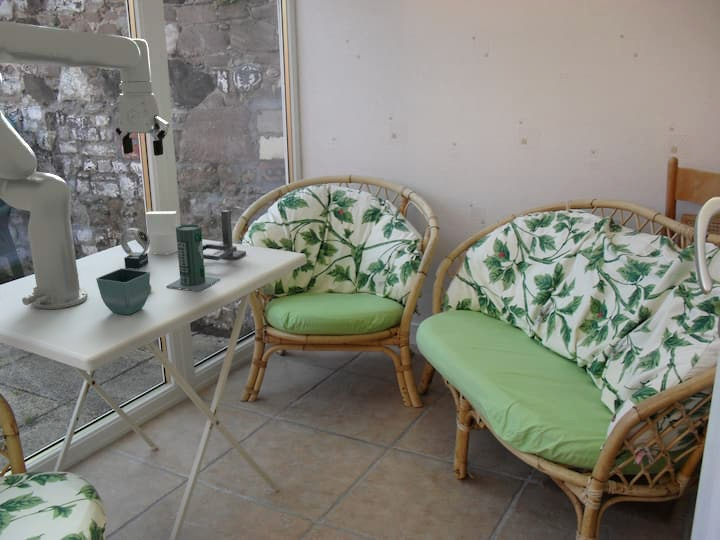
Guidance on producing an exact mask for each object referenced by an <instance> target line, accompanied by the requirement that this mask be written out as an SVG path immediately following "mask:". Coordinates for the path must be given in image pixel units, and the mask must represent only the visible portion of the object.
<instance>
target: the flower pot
mask: <svg viewBox="0 0 720 540" xmlns="http://www.w3.org/2000/svg"><path fill="white" fill-rule="evenodd" d="M95 280H96V283H97V287H98V289H99V290H98V291H99V294H100V298H101V299H102V302H103V303H104V305H105V306H106V307H107V308H108V310H109V311H111V312H112V313H115V314H120V315H127V316H129V315H131V314H133V313H135V312H137V311H140V310H142V309H143V308H144V306H145V304H146V303H147V300H148V298H149V294H150V293H149V286H150V285H151V282H150V280H151V272H150V271H143V270H139V269H129V268H119V269H116V270H113V271H111V272H109V273H105V274H104V275H101V276H98V277H97V278H96V279H95Z"/></svg>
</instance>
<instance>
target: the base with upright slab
mask: <svg viewBox="0 0 720 540" xmlns="http://www.w3.org/2000/svg"><path fill="white" fill-rule="evenodd" d="M145 218H146V219H145V220H146V227H147V235H148V237H149V240H150V242H149V248H148V251H149V253H150V252H151V253H150V254H152V253H156V254H155V255H167V254H166V253H171V254H174V253H173V252H175V253H177V252H178V248H177V237H176V227H179V225H178V216H177V211H176V210H175V211H147V212H146V213H145ZM176 251H177V252H176Z"/></svg>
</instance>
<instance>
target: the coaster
mask: <svg viewBox="0 0 720 540" xmlns="http://www.w3.org/2000/svg"><path fill="white" fill-rule="evenodd" d="M218 280H219V281H220V280H221V279H220V277H218V278H217V277H212V276H205V282H204V283H203V284H200V285H197V286H196V285H195V286H187V285H186V286H185V285H182V284H181V282H180V278H178V279H177V280H175V281H173V282H171V283H169V284H168V285H166V288H167V287H172V288H171V289H175V288H181V289H180V290H182V289H188V290H187V291H190V290H194V291H193V292H197V291H200V292H202V291H203V289H204V290H205V289H207V288H209V287H211V286H212V285H214V284H216V283H217V282H219V281H218ZM216 281H217V282H216ZM215 282H216V283H215ZM213 283H214V284H213ZM211 284H212V285H211ZM208 286H209V287H208ZM206 287H207V288H206ZM201 290H202V291H201Z"/></svg>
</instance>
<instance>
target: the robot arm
mask: <svg viewBox="0 0 720 540" xmlns="http://www.w3.org/2000/svg"><path fill="white" fill-rule="evenodd" d="M149 53H150V51H149V45H148V42H147V41H146V40H145V39H142V38H129V37H127V36H121V35H114V34H105V33H99V32H98V33H97V32H88V31H87V32H86V31H80V30H75V29H67V28H59V27H51V26H43V25H42V26H41V25H35V24H34V25H33V24H27V23H22V22H21V23H20V22H19V23H18V22H11V21H0V63H2V64H3V63H6V64H8V63H9V64H19V65H21V64H22V65H29V66H30V65H31V66H45V67H57V68H83V67H84V68H85V67H86V68H87V67H91V68H92V67H93V68H97V69H100V70H119V74H120V76H119V77H120V83H119V84H118V88H119V89H120V90H121V93H119V96H118V97H119V100H118V118H116V119H114V120H113V121H112V122H111V123H112V125H113V127H114V129H115V132H116V134H117V135H118V136H119V138H120V139H121V140H122V141H121V142H122V148H123V155H124V154H125V155H128V154H133V152H134V147H133V146H134V145H133V139H132V137H131V135H132V134H149V135H151V137H152V138H153V139H154V140H153V141H152V146H153V149H152V150H153V155H154V156H156V157H157V156H161V155H163V154H164V144H163V143H164V142H163V140H165V137H166V136H167V134H168V130H169V128H170V123H169V122H167V121H166V120H164V119H162V118H161V117H160V113H159V107H158V102H157V100H156V96H155V94H154V93H153V88H152V87H153V85H152V77H151V76H152V74H151V63H150V54H149ZM2 87H3V77H2V74H1V73H0V93H1V91H2ZM37 168H38V159H37V156H36V154H35V151H33V149H32V148H31V146H29V144H28V143H27V142H26V141H25V140H24V139H23V137H21V135H20V134H19V133H18V132H17V131H16V129H14V127H13V126H12V125H11V124H10V122H9V121H8V120H7V118H6V117H5V115H4V114H3V112H2V111H1V108H0V200H2V201H4V203H6V204H7V205H8V206H10V207H12V208H14V209H16V210H22V211H26V212H29V213H30V214H29V220H28V226H27V236H28V237H27V238H28V241H29V247H30V254H31V260H32V266H33V271H34V279H35V284H36V285H35V287H33V292H32V293H31V294H29V295H26V296H24V297H22V299H21V302H22V304H23V305H24V306H29V305H30V304H32V305H33V307H36V308H38V309H43V310H56V309H64V308H68V307H73V306H76V305H78V304H79V305H80V304H82V303H83V302H84V301H86V300H87V298H88V292H87V290H85V289H84V288H80V287H81V286H80V280H79V272H78V266H77V265H78V264H77V260H76V259H77V258H76V252H75V246H74V245H75V243H74V238H73V232H72V220H71V211H72V210H71V207H72V193H71V192H72V191H71V188H70V186H69V185H68V183H67V182H66V181H65V180H64V179H63V178H62V177H60V176H58V175H55V174H53V173H48V172H43V171H37Z"/></svg>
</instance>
